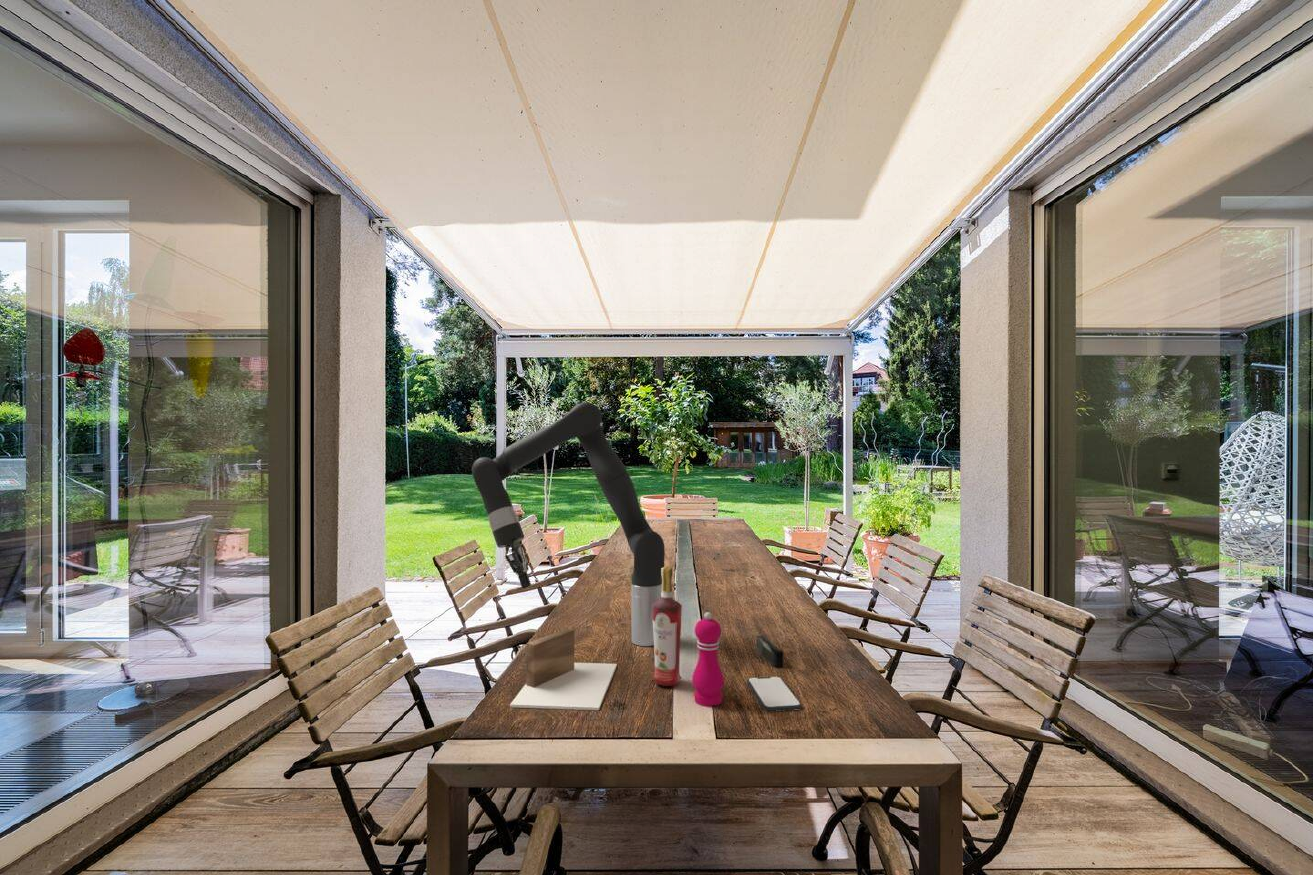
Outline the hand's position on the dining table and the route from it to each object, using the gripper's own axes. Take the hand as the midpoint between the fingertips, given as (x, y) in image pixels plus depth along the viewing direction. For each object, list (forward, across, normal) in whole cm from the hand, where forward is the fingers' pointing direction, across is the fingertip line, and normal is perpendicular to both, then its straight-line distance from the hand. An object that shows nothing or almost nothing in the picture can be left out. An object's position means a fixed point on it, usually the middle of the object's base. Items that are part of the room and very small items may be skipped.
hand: (527, 587), depth 153 cm
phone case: (+47, -11, -47) cm, 68 cm away
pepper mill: (+41, -14, -33) cm, 55 cm away
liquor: (+36, -5, -25) cm, 44 cm away
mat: (+26, -7, -3) cm, 27 cm away
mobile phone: (+43, +13, -52) cm, 69 cm away
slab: (+23, -4, +1) cm, 23 cm away
